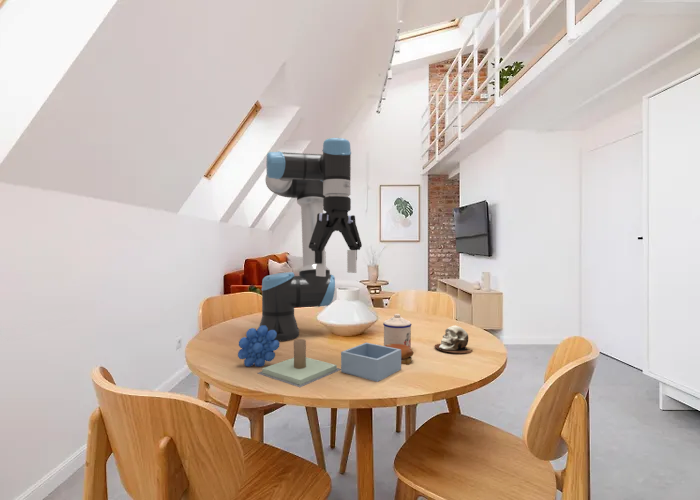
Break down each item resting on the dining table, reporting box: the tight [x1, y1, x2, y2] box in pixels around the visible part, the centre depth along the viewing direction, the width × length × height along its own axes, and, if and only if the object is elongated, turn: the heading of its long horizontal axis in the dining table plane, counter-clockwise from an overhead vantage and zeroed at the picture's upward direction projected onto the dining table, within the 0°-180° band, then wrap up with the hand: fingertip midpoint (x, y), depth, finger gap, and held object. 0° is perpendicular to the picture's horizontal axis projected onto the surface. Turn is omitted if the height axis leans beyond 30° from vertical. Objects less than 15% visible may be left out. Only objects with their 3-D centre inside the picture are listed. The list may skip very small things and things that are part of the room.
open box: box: [340, 342, 402, 383], centre depth 104 cm, size 12×12×6 cm
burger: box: [385, 344, 414, 366], centre depth 114 cm, size 10×9×5 cm
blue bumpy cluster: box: [237, 325, 280, 368], centre depth 109 cm, size 12×7×12 cm, turn 92°
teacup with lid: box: [382, 313, 412, 349], centre depth 127 cm, size 12×9×12 cm
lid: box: [261, 338, 338, 385], centre depth 104 cm, size 14×14×8 cm
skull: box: [434, 324, 473, 354], centre depth 126 cm, size 12×10×10 cm
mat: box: [256, 367, 341, 388], centre depth 104 cm, size 16×16×1 cm
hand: (337, 274), depth 106 cm, fingers open, 13 cm apart
